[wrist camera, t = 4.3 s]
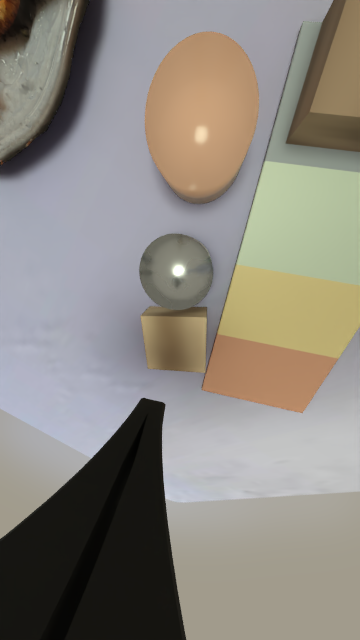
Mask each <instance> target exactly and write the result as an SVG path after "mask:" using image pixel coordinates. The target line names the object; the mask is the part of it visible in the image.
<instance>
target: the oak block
mask: <svg viewBox="0 0 360 640" xmlns="http://www.w3.org/2000/svg"><path fill="white" fill-rule="evenodd" d="M141 322H142V330H143V337H144V344H145V351H146V358H147V366H148V369H160V370H174V371H188V372H202V373H205V366H206V326H207V307H190V308H188V309H184V310H171V309H167V308H164V307H155V306H150V307H149V308H148V309H147V310H146V311H145V312H144V313H143V314H142V315H141Z"/></svg>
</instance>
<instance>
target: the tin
mask: <svg viewBox="0 0 360 640" xmlns="http://www.w3.org/2000/svg"><path fill="white" fill-rule="evenodd" d="M140 279H141V283H142V286H143V288H144V290H145V292H146V293H147V295H148V296H149V297H150V298H151V299H152V300H153V301H154V302H155V303H157V304H158V305H160V306H162V307H164V308H167V309H171V310H184V309H188V308H190V307H193V306H195V305H196V304H198V303H199V302H200V301H201V300H202V299H203V298H204V297H205V296H206V294H207V293H208V291H209V289H210V287H211V284H212V279H213V267H212V262H211V257H210V254H209V252H208V250H207V249H206V247H205V246H204V245H203V244H202V243H201V242H199V241H198V240H196V239H194V238H191V237H189V236H186V235H182V234H168V235H164V236H161V237H159V238H157V239H156V240H154V241H153V242H152V243H151V244H150V245H149V246H148V247H147V249H146V250H145V252H144V253H143V256H142V258H141V262H140Z"/></svg>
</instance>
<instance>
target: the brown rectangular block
mask: <svg viewBox="0 0 360 640" xmlns="http://www.w3.org/2000/svg"><path fill="white" fill-rule="evenodd" d="M286 144H294V145H302V146H311V147H320V148H328V149H337V150H346V151H354V152H360V0H334V1H333V3H332V5H331V7H330V9H329V11H328V13H327V14H326V16H325V18H324V20H323V22H322V25H321V29H320V32H319V35H318V38H317V42H316V45H315V48H314V52H313V55H312V58H311V61H310V65H309V68H308V71H307V75H306V78H305V81H304V84H303V88H302V91H301V94H300V98H299V101H298V104H297V107H296V111H295V114H294V117H293V121H292V124H291V127H290V130H289V134H288V137H287V140H286Z"/></svg>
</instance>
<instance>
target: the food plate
mask: <svg viewBox="0 0 360 640" xmlns="http://www.w3.org/2000/svg"><path fill="white" fill-rule="evenodd" d="M89 3H90V1H89V0H0V166H1V165H2V163H3V162H6V160H7V161H9V160H10V159H12V158H13V157H14V156H16V154H18V153H20V152H21V151H22V149H25V148H26V147H28V146H29V145H30V143H31V142H32V141H33V140H34V139H35V138H37V137H38V136H39V135H40V134H43V133H44V132H45V131H47V129H48V125H50V124H51V120H52V119H54V117H53V116H54V115H56V113H57V112H56V111H58V108H59V105H60V106H61V103H62V99H63V98H64V94H65V89H66V88H67V83H68V80H69V77H70V72H71V70H70V68H71V64H72V59H71V58H73V52H74V51H73V49H75V44H76V40H77V34H78V31H79V29H80V23H81V22H82V20H83V16H84V15H85V12H86V8H87V4H88V5H89Z"/></svg>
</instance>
